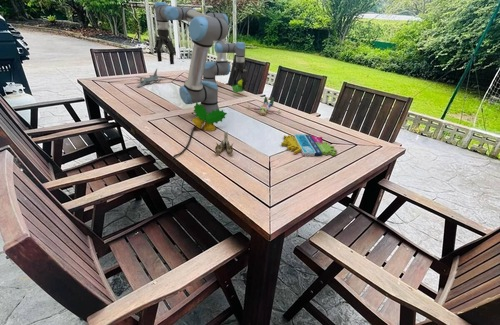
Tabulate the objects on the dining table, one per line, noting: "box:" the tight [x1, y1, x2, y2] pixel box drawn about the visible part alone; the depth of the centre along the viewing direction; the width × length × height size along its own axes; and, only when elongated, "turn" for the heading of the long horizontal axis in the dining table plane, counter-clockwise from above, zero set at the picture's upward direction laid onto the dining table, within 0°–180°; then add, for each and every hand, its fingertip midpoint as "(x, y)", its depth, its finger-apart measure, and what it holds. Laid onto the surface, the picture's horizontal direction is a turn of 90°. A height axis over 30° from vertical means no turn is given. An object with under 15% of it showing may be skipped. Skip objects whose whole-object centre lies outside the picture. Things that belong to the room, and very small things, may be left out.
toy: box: [246, 95, 283, 116], centre depth 203 cm, size 28×7×30 cm
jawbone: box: [214, 131, 234, 156], centre depth 136 cm, size 9×15×10 cm
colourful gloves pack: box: [280, 133, 338, 157], centre depth 150 cm, size 26×2×30 cm
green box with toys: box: [231, 78, 245, 93], centre depth 232 cm, size 11×9×11 cm
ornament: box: [191, 102, 228, 132], centre depth 162 cm, size 21×8×15 cm, turn 105°
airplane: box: [135, 68, 167, 88], centre depth 254 cm, size 38×31×10 cm
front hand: (165, 62), depth 184 cm, fingers open, 13 cm apart
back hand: (239, 88), depth 234 cm, fingers closed on green box with toys, 9 cm apart
